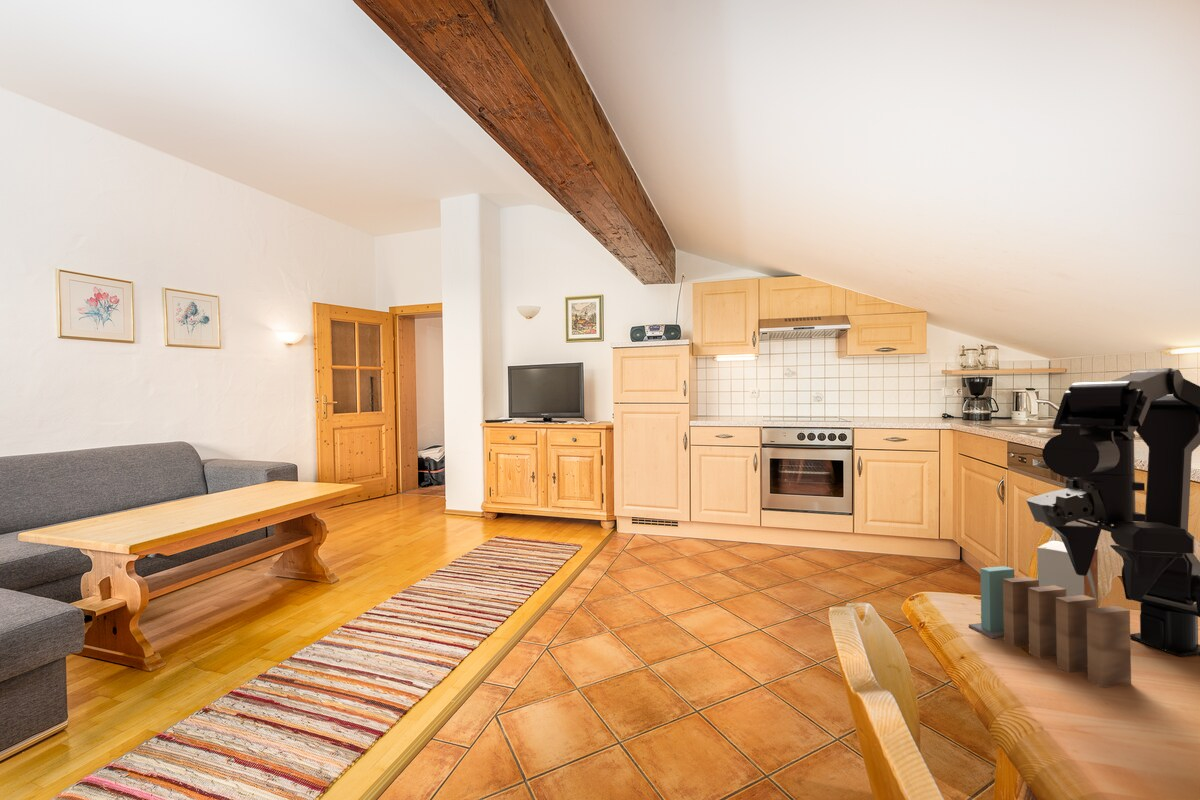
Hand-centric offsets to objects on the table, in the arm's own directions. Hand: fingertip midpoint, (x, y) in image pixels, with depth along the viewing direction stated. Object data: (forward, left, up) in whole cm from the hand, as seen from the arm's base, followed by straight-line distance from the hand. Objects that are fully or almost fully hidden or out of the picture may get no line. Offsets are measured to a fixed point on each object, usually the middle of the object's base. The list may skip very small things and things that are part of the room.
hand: (1106, 586), depth 69 cm
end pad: (0, -16, -13) cm, 21 cm away
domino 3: (0, -8, -13) cm, 15 cm away
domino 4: (0, -4, -13) cm, 14 cm away
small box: (-15, -17, -13) cm, 26 cm away
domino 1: (0, -16, -13) cm, 20 cm away
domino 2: (0, -12, -13) cm, 18 cm away
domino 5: (0, 0, -13) cm, 13 cm away
